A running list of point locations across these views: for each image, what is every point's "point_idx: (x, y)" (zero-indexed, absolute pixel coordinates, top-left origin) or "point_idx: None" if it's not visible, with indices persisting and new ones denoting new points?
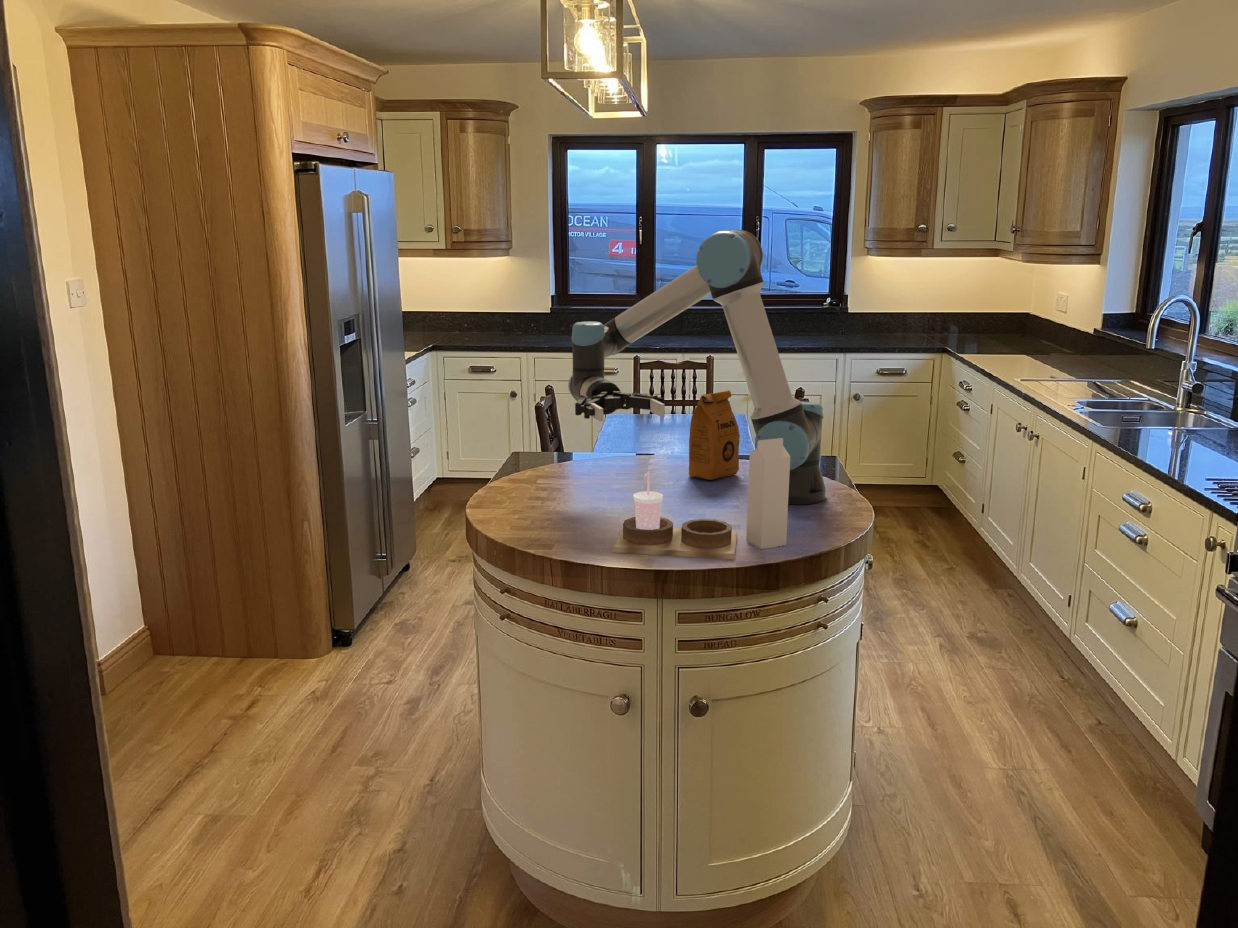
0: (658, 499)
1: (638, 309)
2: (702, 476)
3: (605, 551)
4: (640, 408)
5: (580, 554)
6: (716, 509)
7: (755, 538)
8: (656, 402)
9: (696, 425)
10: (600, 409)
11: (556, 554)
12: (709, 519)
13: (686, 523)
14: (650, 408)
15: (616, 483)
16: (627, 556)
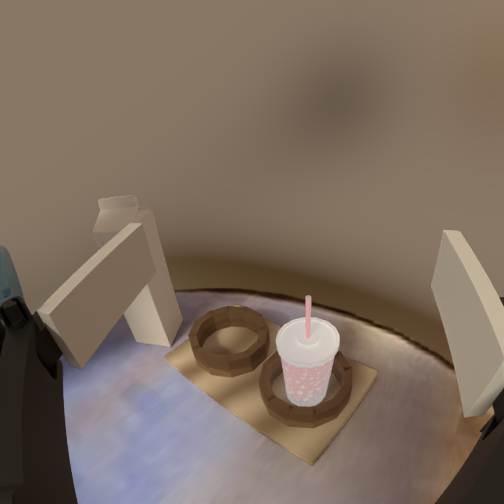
0: (299, 319)
1: None
2: None
3: (387, 384)
4: (64, 434)
5: (426, 383)
6: (79, 465)
7: (176, 322)
8: (107, 256)
9: None
10: (455, 234)
11: (458, 390)
12: (198, 353)
13: (245, 353)
14: (76, 354)
15: None
16: (362, 359)
